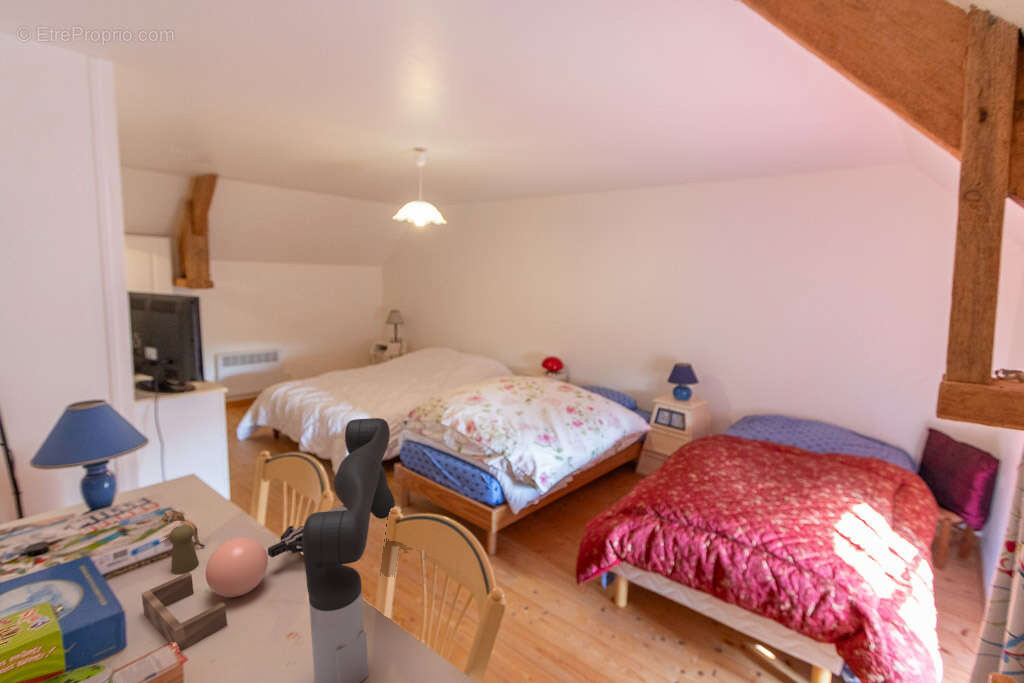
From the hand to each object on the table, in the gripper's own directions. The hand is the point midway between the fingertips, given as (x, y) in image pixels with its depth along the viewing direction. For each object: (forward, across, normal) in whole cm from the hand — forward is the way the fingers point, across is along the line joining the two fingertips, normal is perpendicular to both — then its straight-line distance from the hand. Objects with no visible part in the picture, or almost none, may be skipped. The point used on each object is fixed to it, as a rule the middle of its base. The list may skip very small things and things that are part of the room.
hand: (269, 553), depth 122 cm
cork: (+12, -21, +6) cm, 25 cm away
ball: (+8, 0, 0) cm, 8 cm away
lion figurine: (+8, -34, +6) cm, 35 cm away
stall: (+19, 0, +6) cm, 20 cm away
